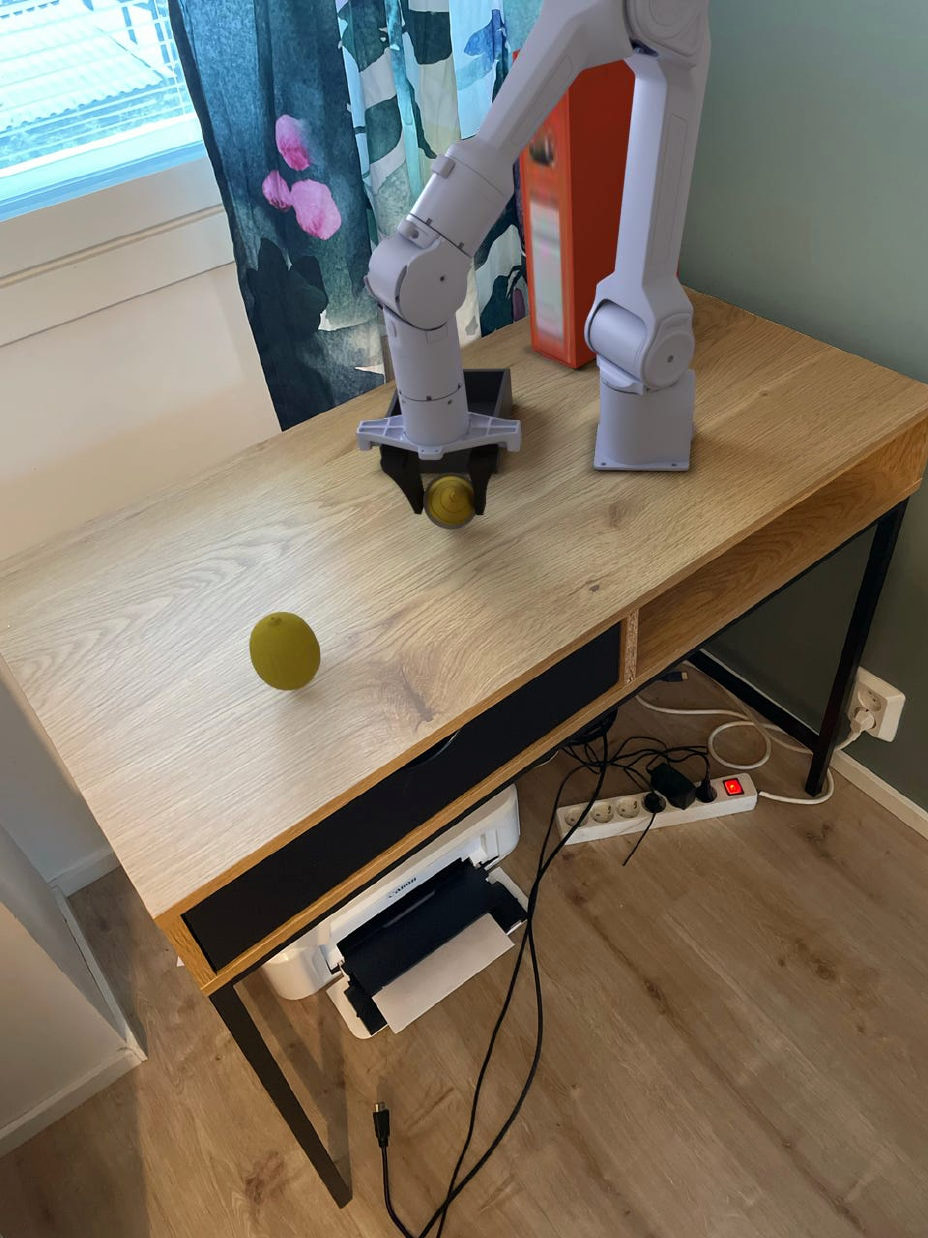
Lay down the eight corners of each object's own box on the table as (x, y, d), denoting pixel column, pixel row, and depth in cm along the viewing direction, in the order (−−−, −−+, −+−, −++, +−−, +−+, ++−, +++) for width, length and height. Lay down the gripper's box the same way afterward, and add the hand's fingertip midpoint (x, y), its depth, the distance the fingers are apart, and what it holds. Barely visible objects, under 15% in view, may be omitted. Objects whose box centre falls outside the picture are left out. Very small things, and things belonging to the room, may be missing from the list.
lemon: (267, 663, 78) (241, 598, 72) (330, 655, 78) (309, 589, 72) (262, 713, 74) (234, 648, 68) (328, 704, 74) (306, 639, 68)
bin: (512, 403, 102) (510, 367, 99) (497, 473, 93) (493, 437, 90) (409, 403, 104) (403, 368, 101) (384, 472, 95) (376, 437, 92)
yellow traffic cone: (488, 503, 89) (496, 493, 79) (450, 542, 89) (454, 536, 79) (449, 465, 89) (452, 450, 79) (411, 504, 89) (410, 494, 79)
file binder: (530, 348, 110) (512, 49, 87) (628, 295, 117) (636, 5, 94) (576, 370, 105) (570, 61, 83) (676, 315, 112) (695, 14, 89)
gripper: (336, 409, 74) (367, 534, 84) (509, 408, 72) (520, 537, 81) (356, 364, 79) (383, 487, 89) (520, 362, 76) (529, 489, 86)
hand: (449, 508), depth 85 cm, fingers closed on yellow traffic cone, 5 cm apart
